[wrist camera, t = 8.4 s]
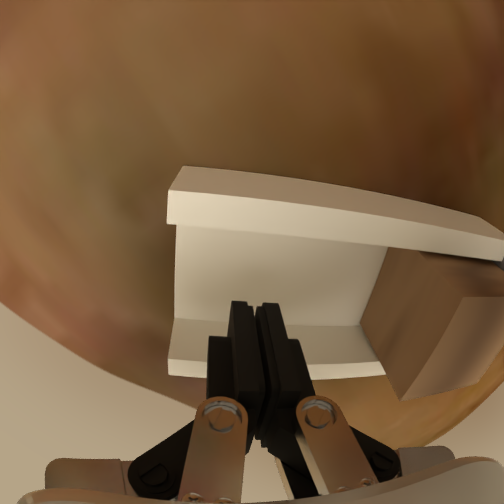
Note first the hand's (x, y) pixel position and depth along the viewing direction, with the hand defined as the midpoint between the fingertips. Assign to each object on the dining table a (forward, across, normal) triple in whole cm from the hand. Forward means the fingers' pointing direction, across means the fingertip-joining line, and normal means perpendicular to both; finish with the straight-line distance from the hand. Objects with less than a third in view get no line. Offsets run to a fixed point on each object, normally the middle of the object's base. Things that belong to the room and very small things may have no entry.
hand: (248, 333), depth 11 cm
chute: (+5, -6, 0) cm, 8 cm away
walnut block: (+4, -10, 0) cm, 11 cm away
